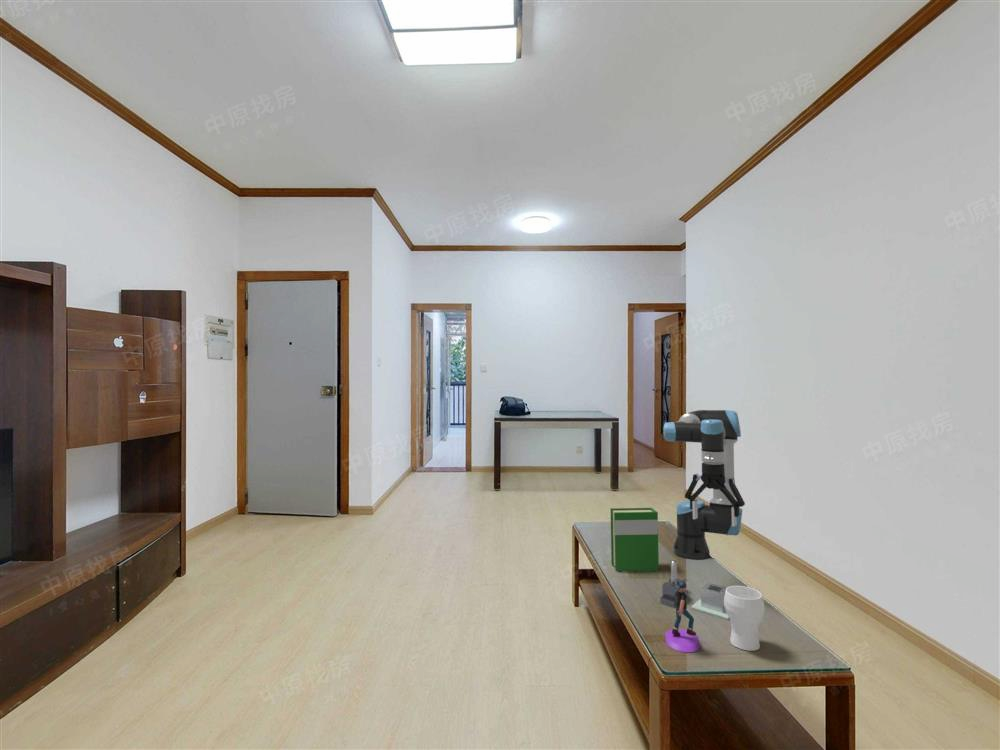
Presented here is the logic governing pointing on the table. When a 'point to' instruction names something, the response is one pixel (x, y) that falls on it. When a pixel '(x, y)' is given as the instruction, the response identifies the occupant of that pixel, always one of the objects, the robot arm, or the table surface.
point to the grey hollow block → (713, 597)
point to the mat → (709, 610)
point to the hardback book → (634, 539)
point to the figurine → (679, 637)
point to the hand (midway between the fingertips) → (714, 522)
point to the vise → (671, 587)
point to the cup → (744, 616)
